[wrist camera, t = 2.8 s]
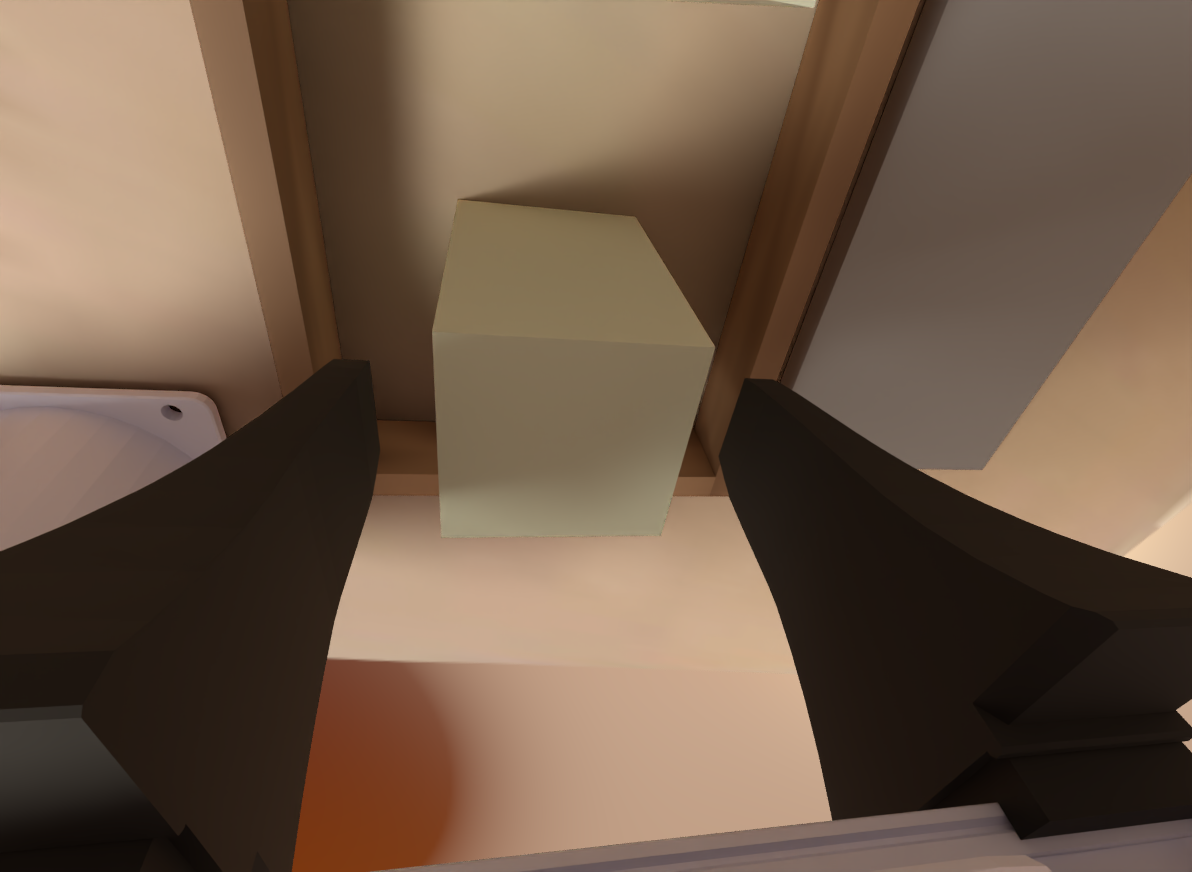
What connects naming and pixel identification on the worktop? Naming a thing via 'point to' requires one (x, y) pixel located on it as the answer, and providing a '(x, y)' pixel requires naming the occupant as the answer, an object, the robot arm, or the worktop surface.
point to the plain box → (760, 2)
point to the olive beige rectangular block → (560, 375)
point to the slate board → (994, 215)
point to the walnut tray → (766, 279)
